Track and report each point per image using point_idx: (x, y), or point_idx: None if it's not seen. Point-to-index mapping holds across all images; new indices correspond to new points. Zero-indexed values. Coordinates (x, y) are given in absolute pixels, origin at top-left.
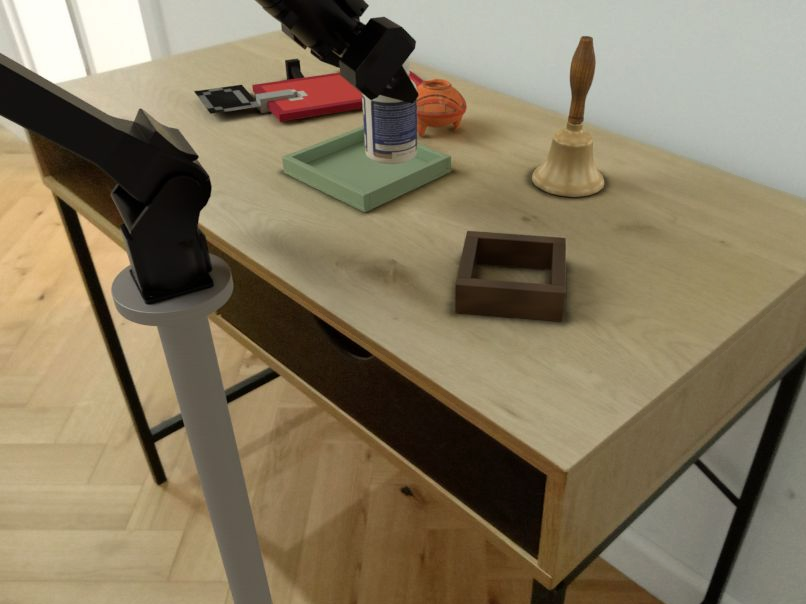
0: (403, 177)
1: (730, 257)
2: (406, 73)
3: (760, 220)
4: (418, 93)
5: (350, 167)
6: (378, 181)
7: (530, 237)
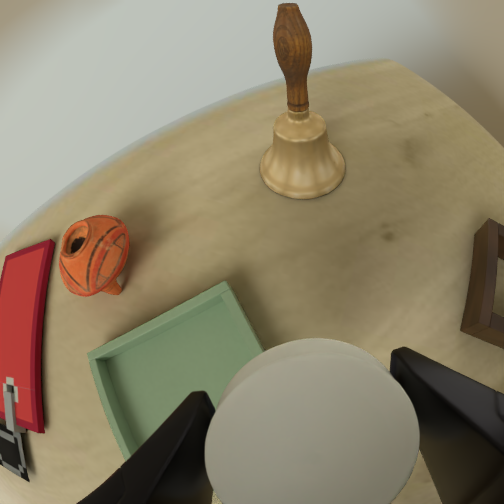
0: None
1: (446, 121)
2: (491, 389)
3: (392, 86)
4: (405, 347)
5: None
6: None
7: (492, 252)
